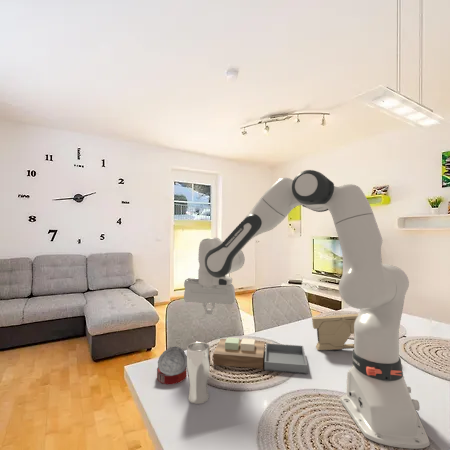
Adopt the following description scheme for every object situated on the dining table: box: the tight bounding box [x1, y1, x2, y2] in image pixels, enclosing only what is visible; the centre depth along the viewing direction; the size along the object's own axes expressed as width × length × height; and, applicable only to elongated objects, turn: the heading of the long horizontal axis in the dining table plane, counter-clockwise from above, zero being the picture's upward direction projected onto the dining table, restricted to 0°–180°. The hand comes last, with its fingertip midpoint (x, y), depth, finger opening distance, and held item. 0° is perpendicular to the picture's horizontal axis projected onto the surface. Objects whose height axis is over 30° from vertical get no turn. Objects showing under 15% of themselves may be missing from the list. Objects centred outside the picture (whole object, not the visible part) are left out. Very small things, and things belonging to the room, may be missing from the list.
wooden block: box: [212, 338, 266, 370], centre depth 107 cm, size 14×18×4 cm
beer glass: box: [186, 341, 211, 405], centre depth 82 cm, size 7×7×15 cm
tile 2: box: [241, 338, 256, 351], centre depth 106 cm, size 5×5×2 cm
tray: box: [264, 342, 309, 375], centre depth 104 cm, size 16×14×3 cm
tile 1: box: [225, 337, 241, 350], centre depth 107 cm, size 5×5×2 cm
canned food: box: [156, 346, 188, 385], centre depth 94 cm, size 11×10×10 cm
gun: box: [311, 313, 359, 352], centre depth 113 cm, size 24×3×15 cm, turn 84°
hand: (209, 314), depth 109 cm, fingers closed
